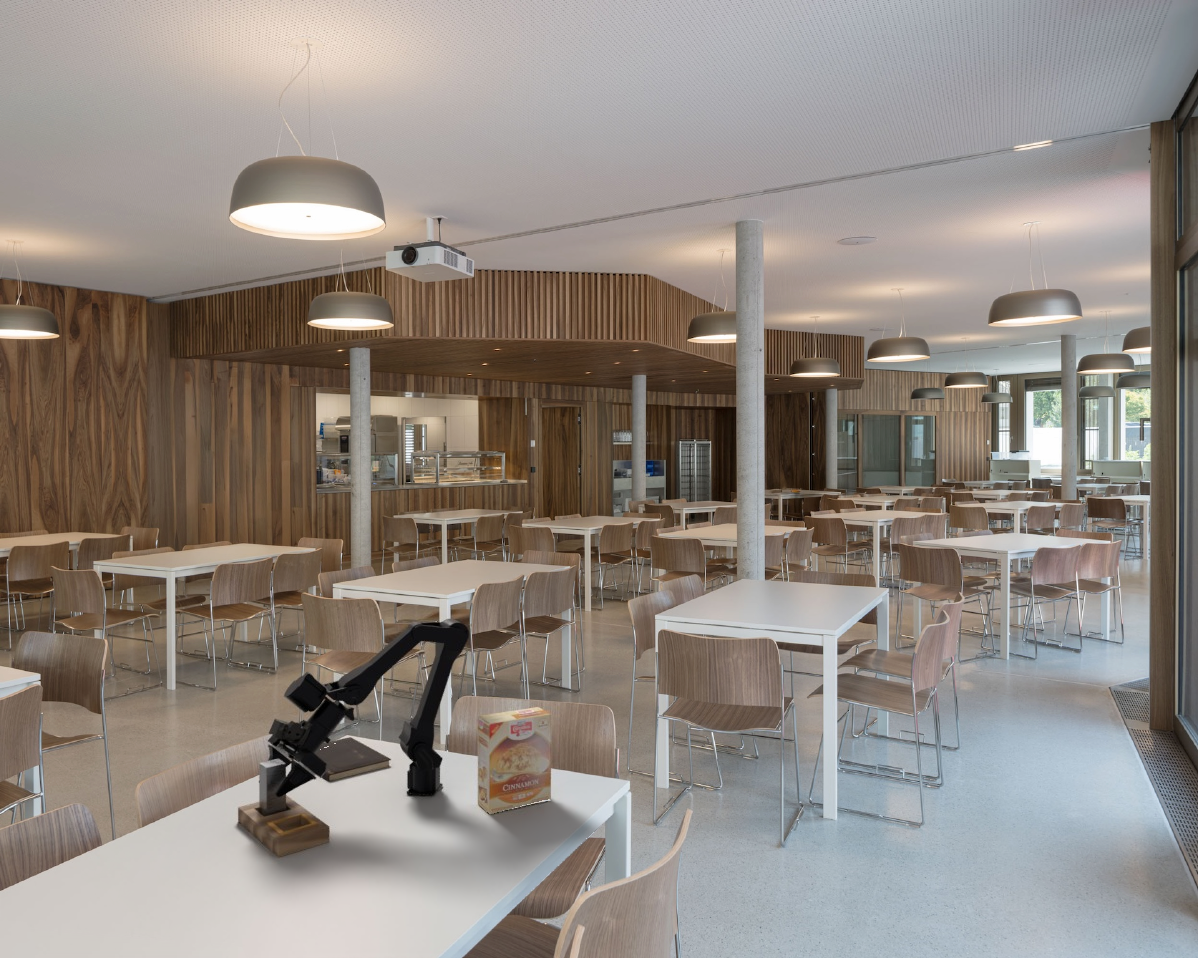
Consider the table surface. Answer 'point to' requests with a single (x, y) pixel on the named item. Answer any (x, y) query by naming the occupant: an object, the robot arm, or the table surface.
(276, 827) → the wooden peg holder
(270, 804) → the peg
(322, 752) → the hardcover book
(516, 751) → the coffeecake box
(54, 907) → the table surface
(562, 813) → the table surface
